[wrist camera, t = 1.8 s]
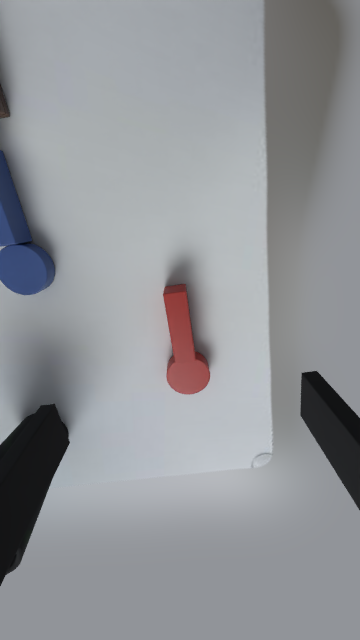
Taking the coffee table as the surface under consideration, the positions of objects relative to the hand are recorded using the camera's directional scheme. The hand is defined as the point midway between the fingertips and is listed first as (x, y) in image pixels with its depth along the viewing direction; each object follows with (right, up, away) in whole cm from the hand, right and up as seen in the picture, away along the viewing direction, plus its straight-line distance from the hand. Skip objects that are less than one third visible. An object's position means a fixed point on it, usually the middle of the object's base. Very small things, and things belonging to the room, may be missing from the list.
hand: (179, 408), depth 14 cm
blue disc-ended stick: (-14, +13, +9) cm, 21 cm away
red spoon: (0, +3, +13) cm, 13 cm away
